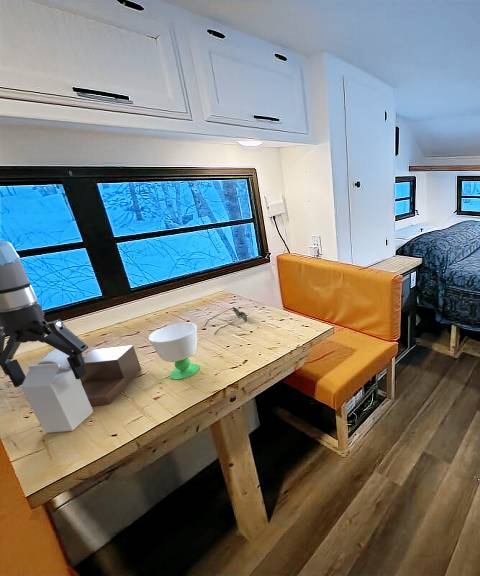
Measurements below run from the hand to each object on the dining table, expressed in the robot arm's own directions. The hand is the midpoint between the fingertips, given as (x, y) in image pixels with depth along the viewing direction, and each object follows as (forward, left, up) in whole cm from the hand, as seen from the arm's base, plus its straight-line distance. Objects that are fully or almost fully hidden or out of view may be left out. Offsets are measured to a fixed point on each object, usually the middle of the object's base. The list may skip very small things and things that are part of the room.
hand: (51, 380), depth 80 cm
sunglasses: (+26, +55, -15) cm, 63 cm away
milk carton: (0, 0, -14) cm, 14 cm away
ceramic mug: (-21, +29, -14) cm, 39 cm away
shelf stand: (0, +15, -14) cm, 21 cm away
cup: (+22, +19, -14) cm, 32 cm away
